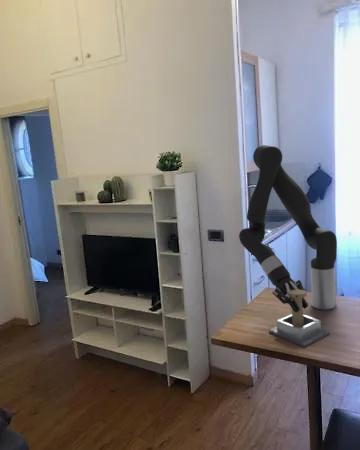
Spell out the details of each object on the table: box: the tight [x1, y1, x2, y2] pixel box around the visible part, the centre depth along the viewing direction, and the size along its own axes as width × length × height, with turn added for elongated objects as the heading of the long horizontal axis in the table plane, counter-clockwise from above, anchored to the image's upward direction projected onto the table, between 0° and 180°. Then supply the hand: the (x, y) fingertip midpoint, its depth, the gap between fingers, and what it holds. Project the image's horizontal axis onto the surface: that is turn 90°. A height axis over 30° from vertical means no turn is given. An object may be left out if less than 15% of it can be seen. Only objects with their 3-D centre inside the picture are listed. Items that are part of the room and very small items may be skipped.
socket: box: [268, 313, 331, 348], centre depth 142 cm, size 14×16×5 cm
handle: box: [288, 289, 307, 328], centre depth 141 cm, size 5×6×15 cm
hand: (302, 309), depth 139 cm, fingers open, 4 cm apart
